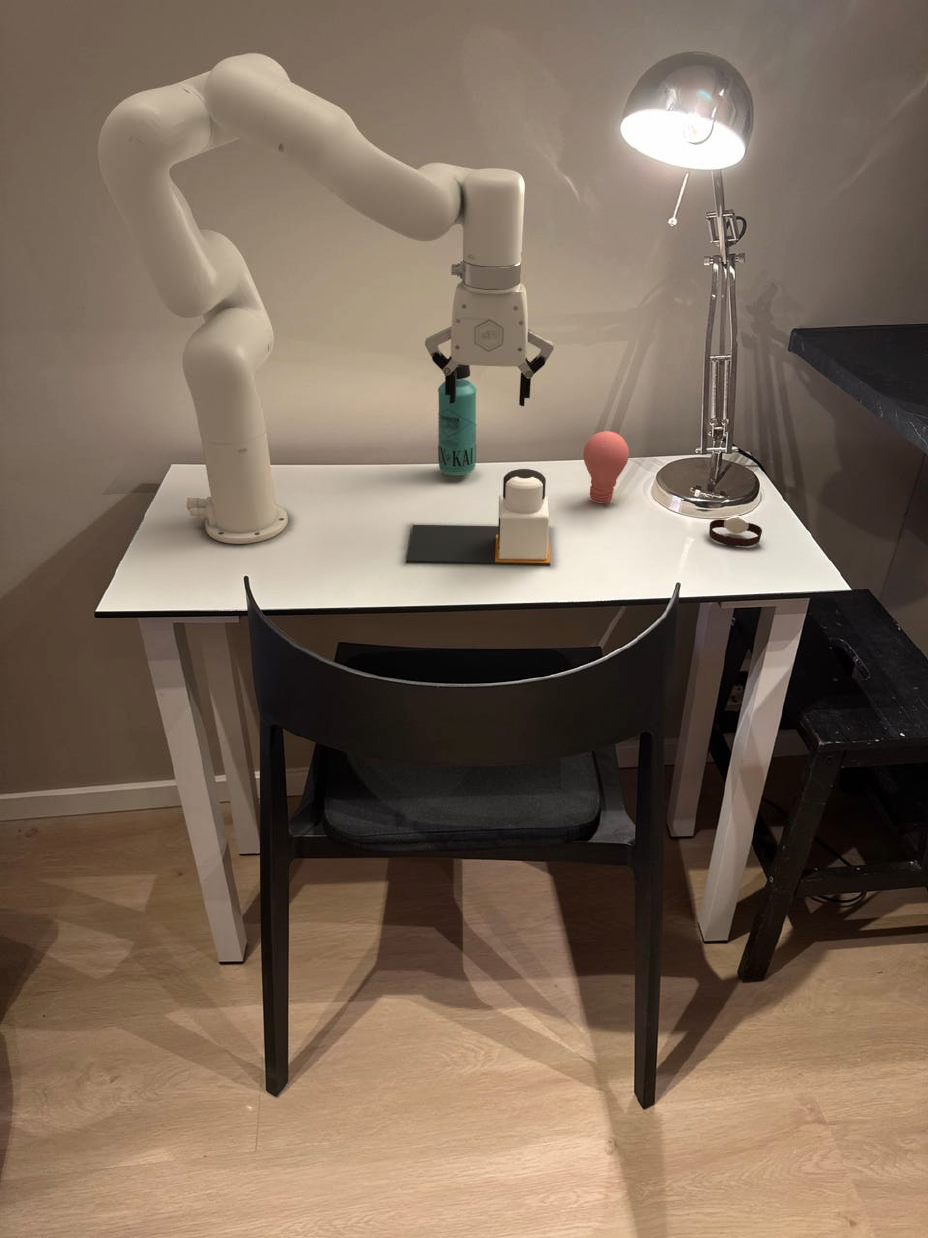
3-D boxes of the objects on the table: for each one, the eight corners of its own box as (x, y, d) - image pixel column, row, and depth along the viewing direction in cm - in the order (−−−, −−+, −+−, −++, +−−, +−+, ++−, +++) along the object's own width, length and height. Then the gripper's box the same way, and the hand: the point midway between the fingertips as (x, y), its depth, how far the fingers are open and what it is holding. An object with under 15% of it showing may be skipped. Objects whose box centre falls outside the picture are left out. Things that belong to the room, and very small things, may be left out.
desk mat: (406, 562, 140) (406, 559, 139) (413, 526, 149) (412, 524, 148) (550, 565, 139) (550, 562, 139) (548, 529, 148) (548, 526, 148)
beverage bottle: (441, 466, 167) (439, 354, 156) (479, 468, 166) (479, 355, 155) (435, 483, 162) (432, 367, 150) (474, 485, 161) (474, 369, 150)
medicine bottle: (498, 536, 145) (499, 463, 138) (545, 536, 145) (548, 464, 138) (498, 560, 139) (499, 485, 132) (547, 560, 139) (551, 486, 132)
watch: (760, 536, 146) (764, 515, 144) (758, 551, 142) (763, 530, 140) (709, 529, 148) (712, 508, 145) (706, 543, 144) (709, 522, 142)
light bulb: (622, 514, 152) (629, 443, 145) (577, 510, 153) (582, 440, 146) (625, 494, 158) (632, 425, 151) (582, 490, 159) (587, 422, 152)
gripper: (422, 280, 121) (422, 409, 130) (559, 284, 120) (549, 414, 129) (427, 265, 127) (427, 389, 136) (557, 269, 126) (549, 393, 136)
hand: (487, 401), depth 133 cm, fingers open, 9 cm apart
